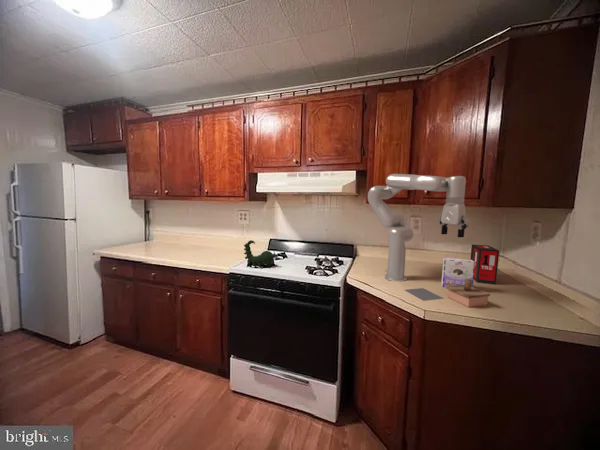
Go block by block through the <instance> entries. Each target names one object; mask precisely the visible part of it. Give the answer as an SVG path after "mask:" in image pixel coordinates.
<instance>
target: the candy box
mask: <svg viewBox="0 0 600 450" xmlns="http://www.w3.org/2000/svg"><path fill="white" fill-rule="evenodd" d="M474 263H475V262H474V261H473V260H470V259H467V258H457V257H447V256H446V257H445V256H443V258H442V270H441V283H440V284H441V287H442V288H446V287H447V286H458V285H464V283H465V279H470V280H472V287H473V285H474V279H473V275H474ZM473 288H474V287H473Z"/></svg>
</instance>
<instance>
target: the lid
mask: <svg viewBox="0 0 600 450" xmlns="http://www.w3.org/2000/svg"><path fill="white" fill-rule="evenodd" d="M445 289H446V290H451V291H453V292H455V293H458V294H460V295H462V296H465V297H467V298H477V297H486V296H488V297H490V296H491V293H488V292H486V291H483V290H481V289H479V288H475V287H472V280H470V279H465V283H464V285H458V286H447V287H445Z"/></svg>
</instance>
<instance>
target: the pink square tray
mask: <svg viewBox="0 0 600 450" xmlns="http://www.w3.org/2000/svg"><path fill="white" fill-rule="evenodd" d="M447 290H448V289H447ZM447 298H448V299H450V300H452V301H453V302H456V303H458V304H460V305H463V306H464V307H465V308H474V307H484V306H488V302H489V296H486V297H477V298H467V297H465V296H462V295H460V294H458V293H455V292H453V291H451V290H448V291H447Z"/></svg>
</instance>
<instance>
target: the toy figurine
mask: <svg viewBox="0 0 600 450" xmlns="http://www.w3.org/2000/svg"><path fill="white" fill-rule="evenodd" d="M251 244H253V245H256V242H255V241H254V240H247V243H245V244H244V245H243V247H244V248H243V250H244V251H245V252H244V253H243V254H244V255H246V256H245V257H244V259H245V260H248V262H247V263H248V264H249V265H250V264H252V266H253V267H256V266H258V267H261V266H262V265H265V266H266V267H267V268H270V267H271V266H272V263H273V261H274V258H275V257H277V254H274V253H272V252H271V251H269V250H265V251H262V252H261V254H258V255H254V254H253V253H252V250H251Z"/></svg>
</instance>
